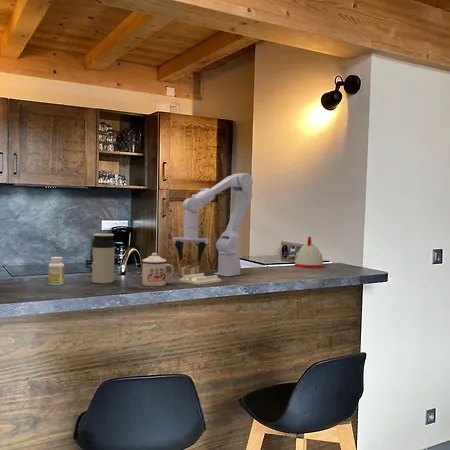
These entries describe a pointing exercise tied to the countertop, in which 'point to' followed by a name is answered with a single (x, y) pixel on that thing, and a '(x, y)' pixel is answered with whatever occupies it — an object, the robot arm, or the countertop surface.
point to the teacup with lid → (155, 271)
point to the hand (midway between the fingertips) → (190, 260)
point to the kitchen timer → (309, 256)
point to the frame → (189, 270)
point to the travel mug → (103, 258)
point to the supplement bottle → (56, 271)
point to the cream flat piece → (199, 279)
